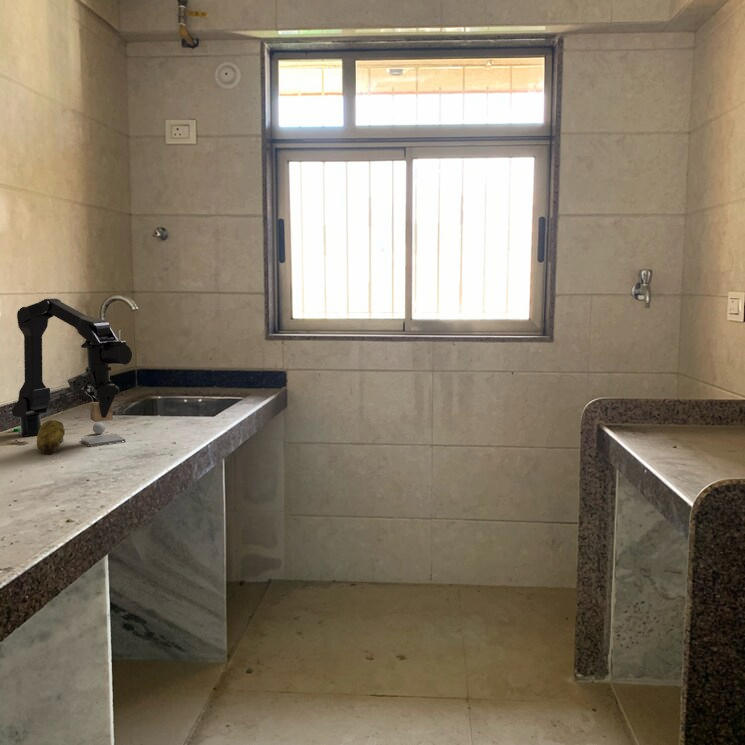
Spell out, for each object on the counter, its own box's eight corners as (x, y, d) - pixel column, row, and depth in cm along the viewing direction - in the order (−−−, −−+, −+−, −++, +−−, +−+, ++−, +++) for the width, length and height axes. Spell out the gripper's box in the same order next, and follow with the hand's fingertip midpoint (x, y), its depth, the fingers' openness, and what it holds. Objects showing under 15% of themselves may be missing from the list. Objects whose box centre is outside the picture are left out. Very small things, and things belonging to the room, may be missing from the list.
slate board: (81, 440, 212) (81, 438, 212) (115, 436, 218) (115, 433, 218) (90, 446, 204) (89, 444, 204) (125, 441, 210) (125, 439, 210)
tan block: (90, 419, 211) (89, 402, 210) (108, 417, 214) (107, 400, 213) (95, 421, 207) (94, 404, 206) (112, 419, 210) (112, 403, 209)
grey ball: (91, 433, 222) (90, 422, 222) (103, 432, 225) (102, 420, 224) (94, 435, 220) (94, 424, 219) (106, 434, 222) (106, 422, 221)
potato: (25, 456, 194) (22, 427, 193) (46, 445, 207) (44, 418, 206) (55, 455, 194) (53, 426, 193) (74, 445, 207) (73, 417, 206)
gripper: (61, 362, 211) (65, 414, 213) (77, 368, 196) (80, 424, 198) (100, 360, 218) (103, 410, 220) (118, 365, 203) (121, 419, 205)
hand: (101, 416), depth 210 cm, fingers closed on tan block, 5 cm apart
